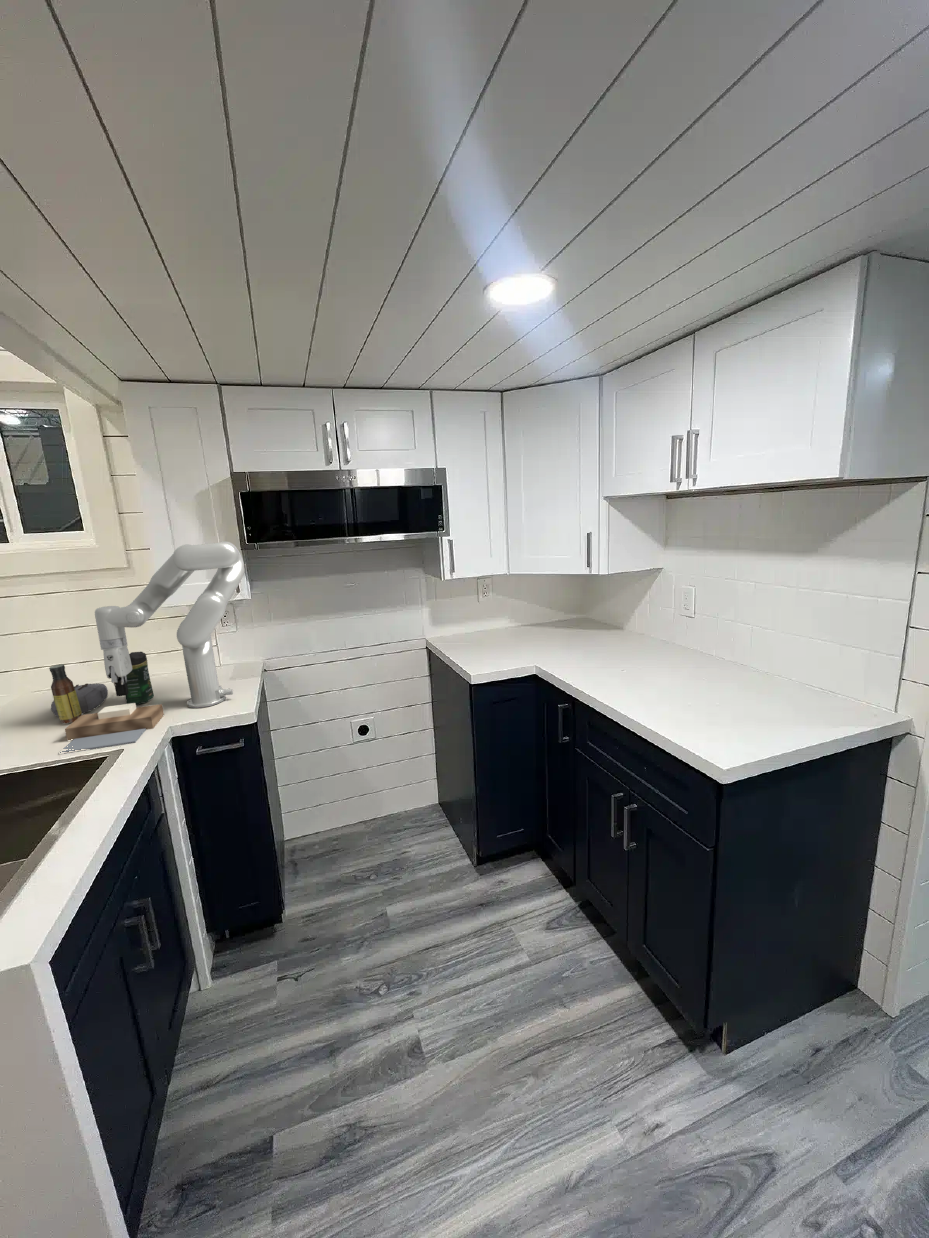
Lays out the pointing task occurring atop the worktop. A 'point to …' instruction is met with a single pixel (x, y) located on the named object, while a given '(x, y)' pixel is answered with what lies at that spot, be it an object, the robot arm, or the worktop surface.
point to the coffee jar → (139, 680)
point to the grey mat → (105, 740)
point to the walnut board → (115, 722)
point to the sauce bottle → (64, 695)
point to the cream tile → (117, 711)
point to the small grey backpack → (87, 697)
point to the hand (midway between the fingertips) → (122, 695)
